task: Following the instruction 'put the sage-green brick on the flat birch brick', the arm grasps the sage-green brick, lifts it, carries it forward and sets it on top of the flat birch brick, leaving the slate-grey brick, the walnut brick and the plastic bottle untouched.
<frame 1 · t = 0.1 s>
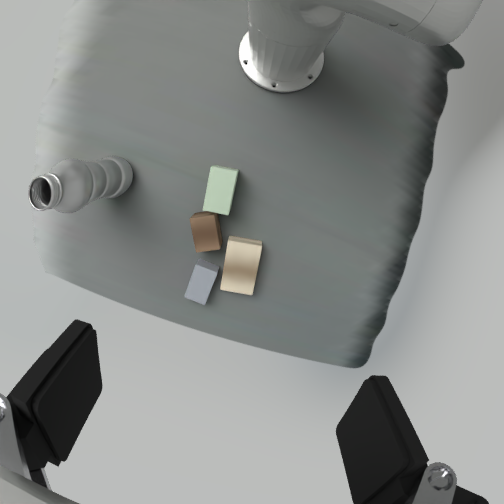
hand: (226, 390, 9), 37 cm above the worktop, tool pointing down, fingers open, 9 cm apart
walnut brick: (208, 227, 45), on the worktop
slate brick: (203, 277, 48), on the worktop
plastic bottle: (119, 175, 42), on the worktop
birch brick: (241, 261, 47), on the worktop
sage brick: (223, 187, 43), on the worktop
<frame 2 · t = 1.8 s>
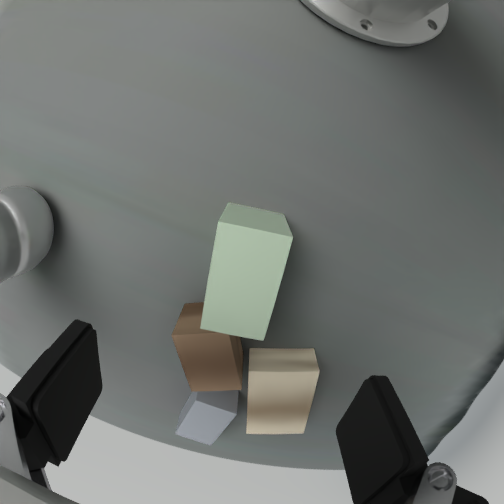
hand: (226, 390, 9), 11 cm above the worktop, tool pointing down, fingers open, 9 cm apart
walnut brick: (215, 329, 21), on the worktop
slate brick: (207, 400, 24), on the worktop
plastic bottle: (36, 220, 19), on the worktop
birch brick: (277, 381, 23), on the worktop
sage brick: (246, 252, 19), on the worktop
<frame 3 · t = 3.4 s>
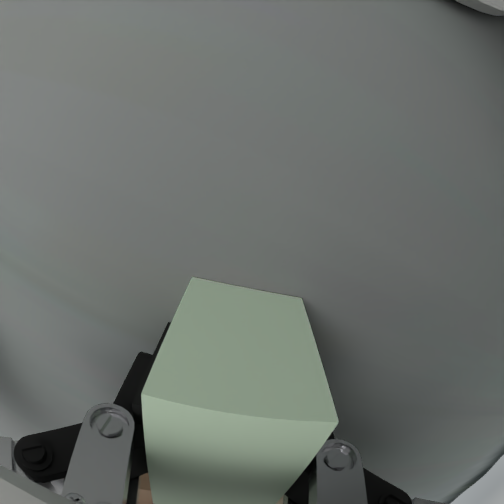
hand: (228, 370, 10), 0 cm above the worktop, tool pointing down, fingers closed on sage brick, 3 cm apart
walnut brick: (188, 448, 12), on the worktop
sage brick: (230, 360, 10), on the worktop, touching gripper
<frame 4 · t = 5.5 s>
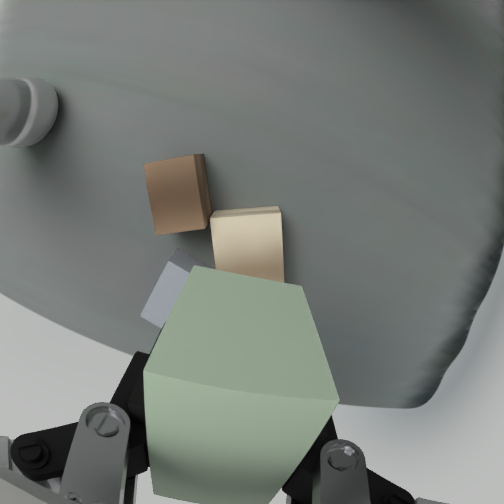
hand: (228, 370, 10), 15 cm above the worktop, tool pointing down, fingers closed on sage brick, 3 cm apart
walnut brick: (186, 188, 23), on the worktop
slate brick: (180, 284, 26), on the worktop
plastic bottle: (43, 113, 20), on the worktop
birch brick: (250, 254, 25), on the worktop
sage brick: (231, 350, 10), point 14 cm above the worktop, touching gripper
when the fingers open (4 cm above the worktop, at t = 7.8 s): sage brick drops 1 cm, resting on birch brick.
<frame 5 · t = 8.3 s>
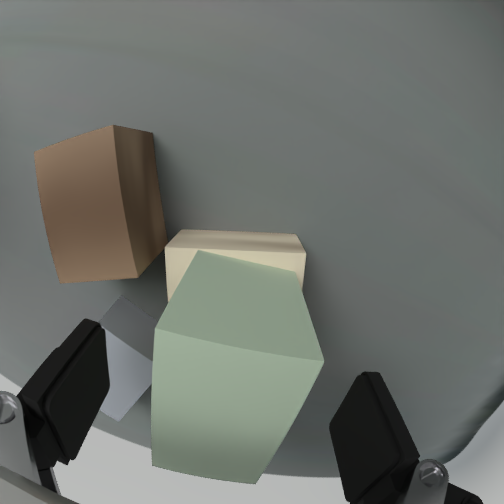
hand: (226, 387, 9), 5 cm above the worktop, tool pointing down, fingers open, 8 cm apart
walnut brick: (124, 194, 12), on the worktop
slate brick: (127, 347, 15), on the worktop
birch brick: (236, 309, 14), on the worktop, touching sage brick
sage brick: (229, 331, 11), point 3 cm above the worktop, touching birch brick
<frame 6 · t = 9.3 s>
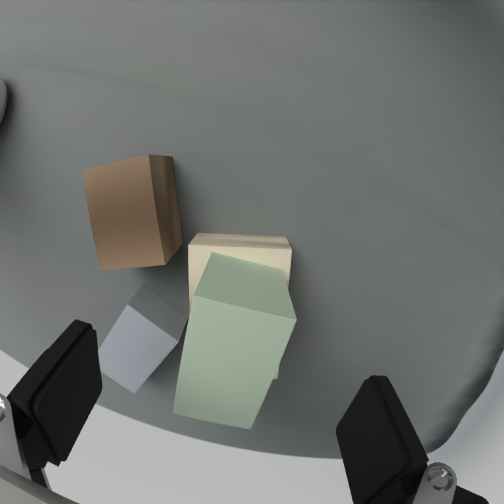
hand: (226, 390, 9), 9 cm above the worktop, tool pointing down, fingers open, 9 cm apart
walnut brick: (149, 204, 16), on the worktop
slate brick: (144, 329, 19), on the worktop
birch brick: (239, 296, 18), on the worktop, touching sage brick
sage brick: (232, 313, 15), point 3 cm above the worktop, touching birch brick
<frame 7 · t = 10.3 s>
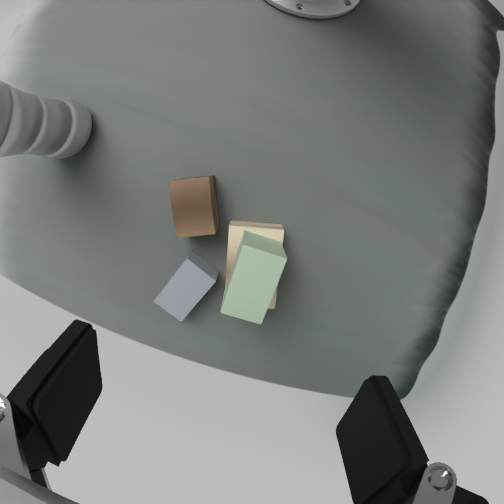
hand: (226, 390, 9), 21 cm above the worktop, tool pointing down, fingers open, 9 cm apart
walnut brick: (199, 202, 29), on the worktop
slate brick: (189, 280, 31), on the worktop
plastic bottle: (75, 130, 26), on the worktop
birch brick: (252, 259, 31), on the worktop, touching sage brick
sage brick: (252, 265, 28), point 3 cm above the worktop, touching birch brick
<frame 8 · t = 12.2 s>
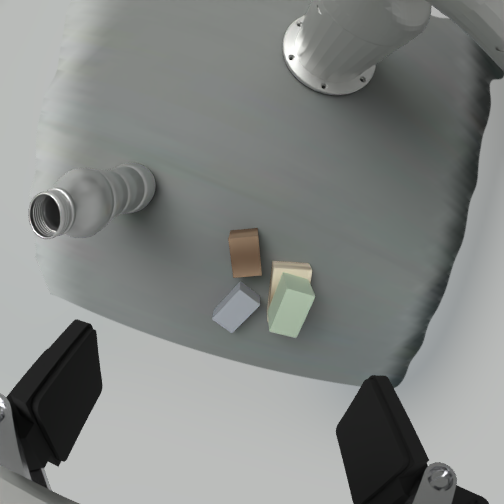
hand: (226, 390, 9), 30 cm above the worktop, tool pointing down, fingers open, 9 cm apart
walnut brick: (246, 247, 39), on the worktop
slate brick: (236, 302, 42), on the worktop
plastic bottle: (137, 185, 37), on the worktop
birch brick: (286, 287, 41), on the worktop, touching sage brick
sage brick: (287, 295, 38), point 3 cm above the worktop, touching birch brick
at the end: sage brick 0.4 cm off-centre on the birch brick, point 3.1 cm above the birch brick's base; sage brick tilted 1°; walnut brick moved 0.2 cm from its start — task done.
